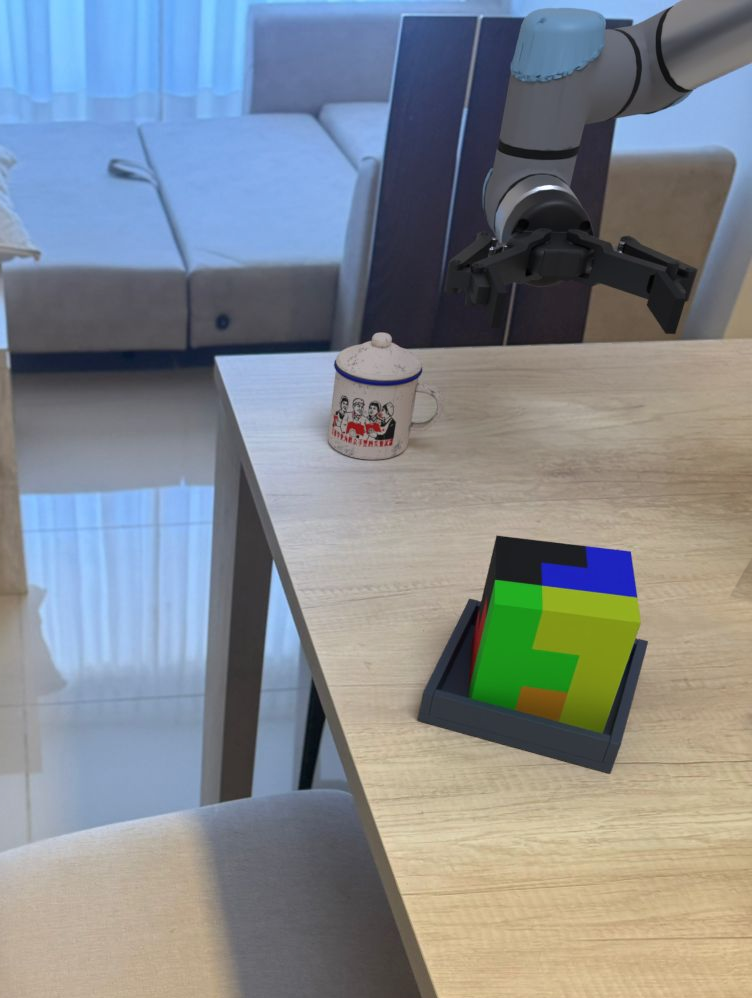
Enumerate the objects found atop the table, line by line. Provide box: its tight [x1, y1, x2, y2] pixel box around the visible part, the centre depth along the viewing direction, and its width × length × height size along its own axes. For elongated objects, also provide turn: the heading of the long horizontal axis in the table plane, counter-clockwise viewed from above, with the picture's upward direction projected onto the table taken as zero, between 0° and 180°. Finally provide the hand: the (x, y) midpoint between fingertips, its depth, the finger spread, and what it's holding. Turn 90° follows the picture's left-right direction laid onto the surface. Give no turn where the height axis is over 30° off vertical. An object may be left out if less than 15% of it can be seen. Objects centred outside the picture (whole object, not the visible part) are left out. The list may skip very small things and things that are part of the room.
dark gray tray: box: [417, 598, 649, 775], centre depth 91 cm, size 15×15×3 cm
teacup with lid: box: [327, 332, 446, 461], centre depth 121 cm, size 12×9×12 cm
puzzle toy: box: [469, 535, 642, 733], centre depth 88 cm, size 10×10×10 cm
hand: (587, 313), depth 91 cm, fingers open, 13 cm apart
